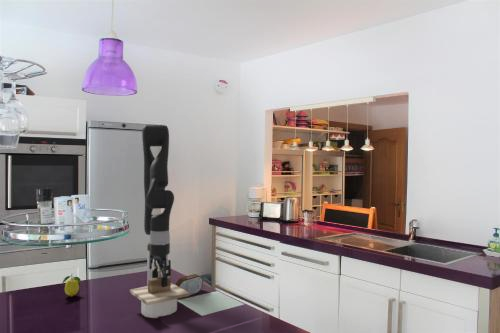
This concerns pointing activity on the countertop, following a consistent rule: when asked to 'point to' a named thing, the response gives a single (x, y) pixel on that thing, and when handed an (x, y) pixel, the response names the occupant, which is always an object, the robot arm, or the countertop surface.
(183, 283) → the tin
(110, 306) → the countertop surface
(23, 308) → the countertop surface
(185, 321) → the countertop surface
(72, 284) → the lemon
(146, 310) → the bowl
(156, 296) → the cover board
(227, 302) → the mat
